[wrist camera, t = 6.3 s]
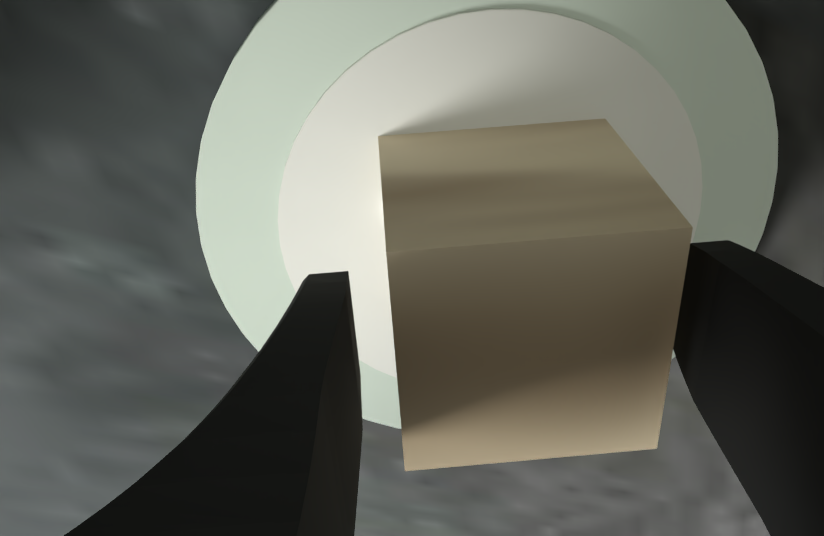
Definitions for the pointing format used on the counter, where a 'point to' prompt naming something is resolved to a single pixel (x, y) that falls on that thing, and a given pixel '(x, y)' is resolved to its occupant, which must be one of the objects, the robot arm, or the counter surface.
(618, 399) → the block
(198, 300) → the counter surface
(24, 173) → the counter surface
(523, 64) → the dish
